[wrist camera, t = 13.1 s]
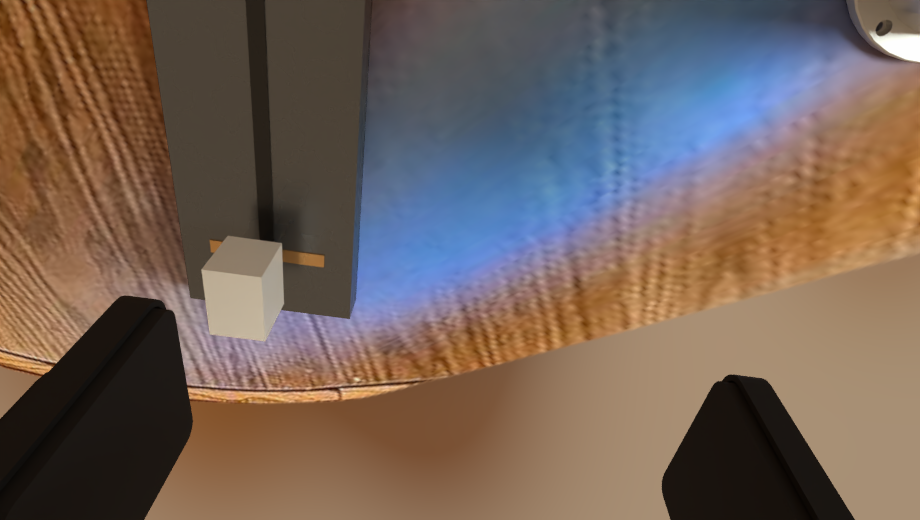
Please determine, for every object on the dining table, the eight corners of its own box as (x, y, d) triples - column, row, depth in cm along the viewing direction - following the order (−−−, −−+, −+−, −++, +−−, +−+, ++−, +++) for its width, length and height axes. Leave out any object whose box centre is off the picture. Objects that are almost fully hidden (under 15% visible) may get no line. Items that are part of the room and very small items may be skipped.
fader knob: (236, 223, 37) (201, 269, 32) (289, 231, 37) (261, 277, 32) (241, 283, 39) (209, 334, 35) (290, 290, 40) (265, 341, 35)
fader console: (148, -160, 28) (120, -167, 26) (378, -120, 29) (370, -123, 27) (204, 279, 43) (190, 298, 41) (355, 299, 44) (349, 319, 42)
